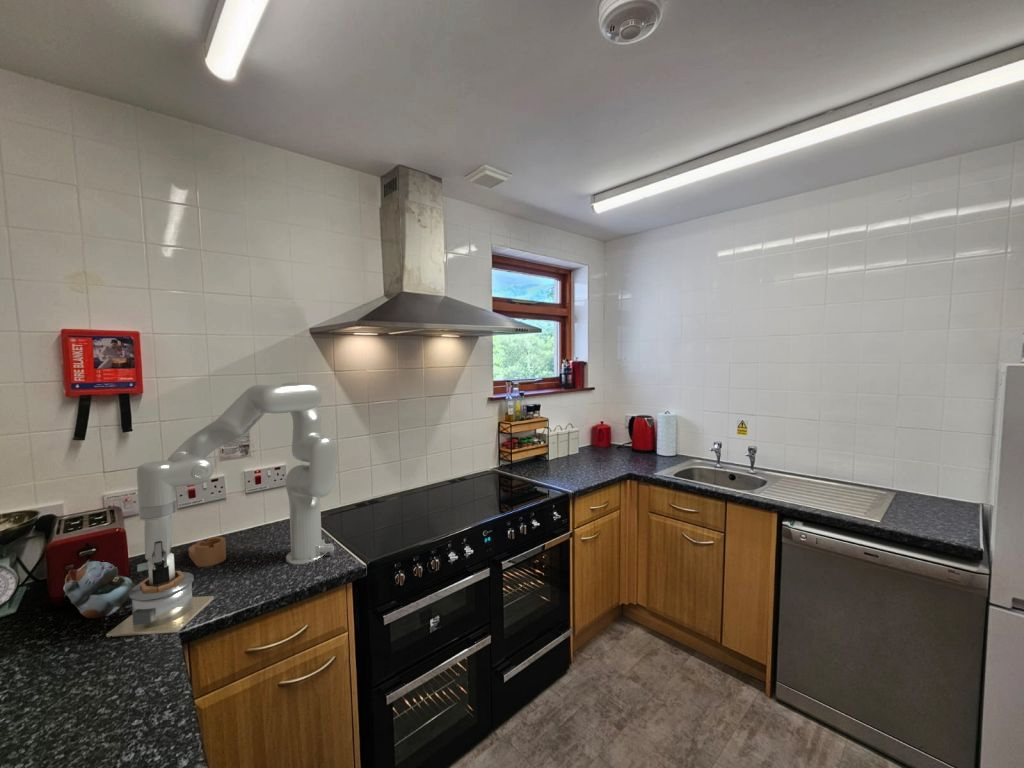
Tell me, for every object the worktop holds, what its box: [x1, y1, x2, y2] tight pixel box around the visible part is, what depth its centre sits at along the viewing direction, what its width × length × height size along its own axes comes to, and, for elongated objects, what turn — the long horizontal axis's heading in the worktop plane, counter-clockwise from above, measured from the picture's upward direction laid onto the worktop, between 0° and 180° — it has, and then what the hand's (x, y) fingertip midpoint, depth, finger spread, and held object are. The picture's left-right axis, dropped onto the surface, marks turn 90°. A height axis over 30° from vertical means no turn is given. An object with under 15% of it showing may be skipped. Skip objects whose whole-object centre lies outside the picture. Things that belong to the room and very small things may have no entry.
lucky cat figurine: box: [63, 558, 135, 619], centre depth 115 cm, size 15×12×14 cm
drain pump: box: [136, 552, 176, 585], centre depth 110 cm, size 7×5×7 cm
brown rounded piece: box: [188, 536, 227, 568], centre depth 145 cm, size 18×8×7 cm, turn 48°
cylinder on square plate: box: [105, 570, 215, 638], centre depth 111 cm, size 16×15×10 cm
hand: (162, 577), depth 110 cm, fingers open, 5 cm apart
